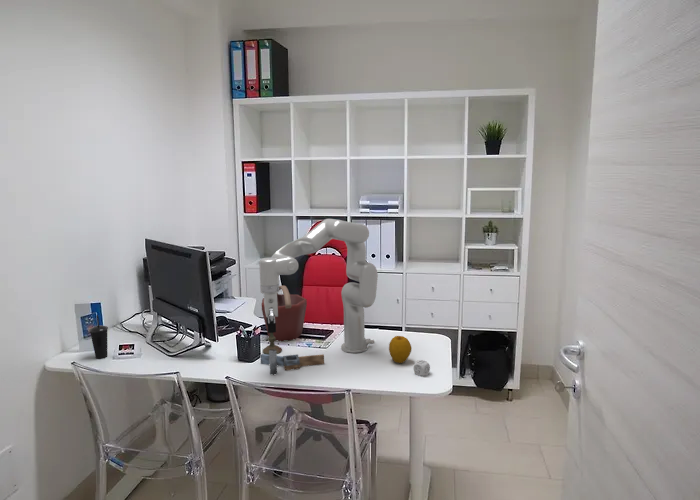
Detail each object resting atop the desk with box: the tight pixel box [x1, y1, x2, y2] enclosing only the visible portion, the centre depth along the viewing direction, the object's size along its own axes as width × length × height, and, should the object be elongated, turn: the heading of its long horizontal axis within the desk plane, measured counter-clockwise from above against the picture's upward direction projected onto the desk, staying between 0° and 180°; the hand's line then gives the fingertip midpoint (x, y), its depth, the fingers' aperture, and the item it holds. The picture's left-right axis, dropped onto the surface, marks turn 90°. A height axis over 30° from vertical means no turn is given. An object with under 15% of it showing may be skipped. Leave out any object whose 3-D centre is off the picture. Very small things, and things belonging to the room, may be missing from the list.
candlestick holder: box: [262, 314, 283, 355], centre depth 234 cm, size 9×9×30 cm
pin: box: [269, 349, 278, 376], centre depth 211 cm, size 3×3×10 cm
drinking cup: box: [88, 314, 109, 360], centre depth 230 cm, size 8×8×20 cm
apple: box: [388, 335, 412, 364], centre depth 221 cm, size 10×10×12 cm
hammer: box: [259, 353, 325, 371], centre depth 221 cm, size 27×11×4 cm, turn 102°
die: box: [413, 359, 431, 377], centre depth 209 cm, size 5×5×5 cm
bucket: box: [261, 285, 308, 342], centre depth 255 cm, size 24×22×25 cm
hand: (271, 328), depth 208 cm, fingers open, 9 cm apart
